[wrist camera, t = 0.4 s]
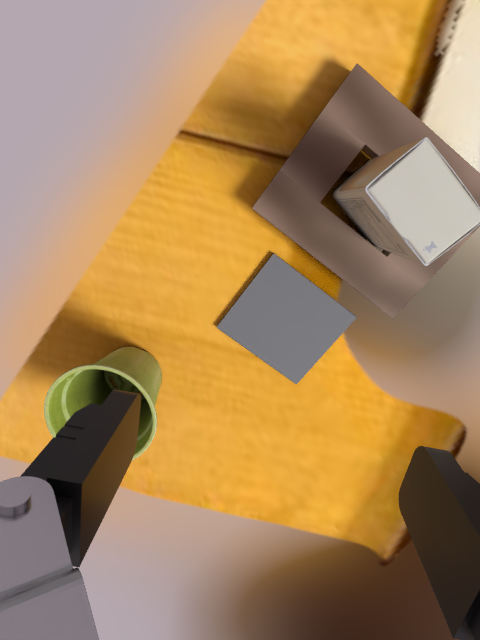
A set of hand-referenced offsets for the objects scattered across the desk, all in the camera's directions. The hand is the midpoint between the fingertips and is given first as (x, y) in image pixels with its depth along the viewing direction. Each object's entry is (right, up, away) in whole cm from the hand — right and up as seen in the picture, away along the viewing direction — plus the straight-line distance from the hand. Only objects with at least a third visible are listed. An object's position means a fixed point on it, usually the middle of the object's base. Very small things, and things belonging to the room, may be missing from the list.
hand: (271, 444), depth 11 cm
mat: (+3, +3, +26) cm, 27 cm away
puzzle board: (+10, +14, +22) cm, 28 cm away
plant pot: (-12, -2, +29) cm, 31 cm away
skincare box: (+10, +14, +23) cm, 29 cm away
